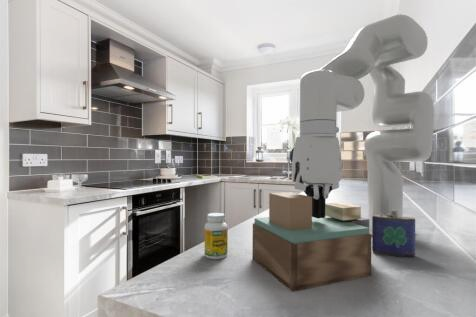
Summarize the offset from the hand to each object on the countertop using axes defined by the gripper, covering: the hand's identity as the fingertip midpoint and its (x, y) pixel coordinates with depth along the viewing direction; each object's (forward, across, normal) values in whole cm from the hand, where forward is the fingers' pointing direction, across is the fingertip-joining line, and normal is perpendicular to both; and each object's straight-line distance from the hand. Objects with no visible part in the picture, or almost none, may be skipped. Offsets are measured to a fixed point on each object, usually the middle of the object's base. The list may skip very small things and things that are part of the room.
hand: (317, 216), depth 57 cm
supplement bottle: (+10, +18, -13) cm, 25 cm away
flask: (+10, -22, +1) cm, 24 cm away
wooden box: (+10, 0, 0) cm, 10 cm away
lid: (+2, +2, 0) cm, 3 cm away
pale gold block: (+1, -7, 0) cm, 7 cm away
